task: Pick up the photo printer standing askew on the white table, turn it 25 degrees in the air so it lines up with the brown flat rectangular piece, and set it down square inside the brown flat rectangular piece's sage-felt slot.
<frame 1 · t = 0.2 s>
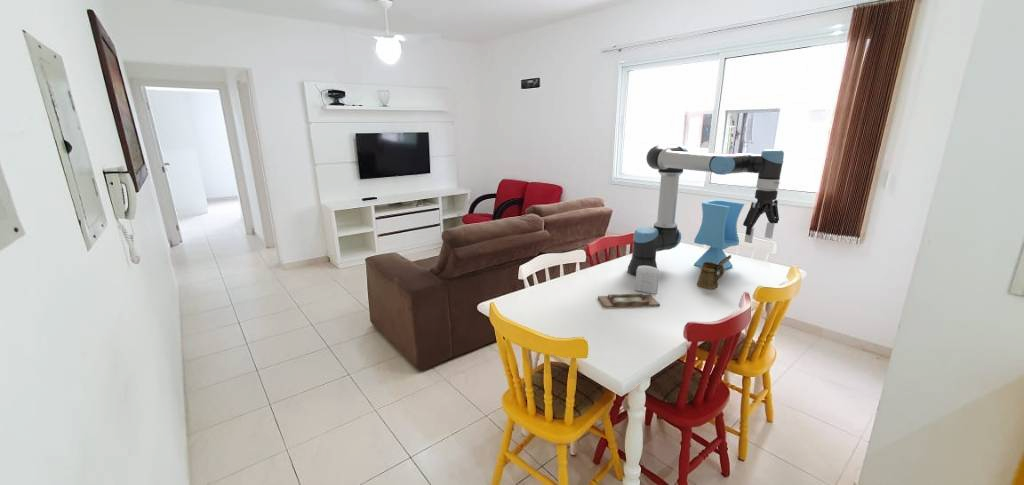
hand: (758, 240, 168), 28 cm above the table, fingers open, 13 cm apart
planter: (712, 266, 219), on the table
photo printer: (646, 291, 187), on the table
wooden mug: (711, 288, 191), on the table
brown flat rectangular piece: (627, 302, 176), on the table
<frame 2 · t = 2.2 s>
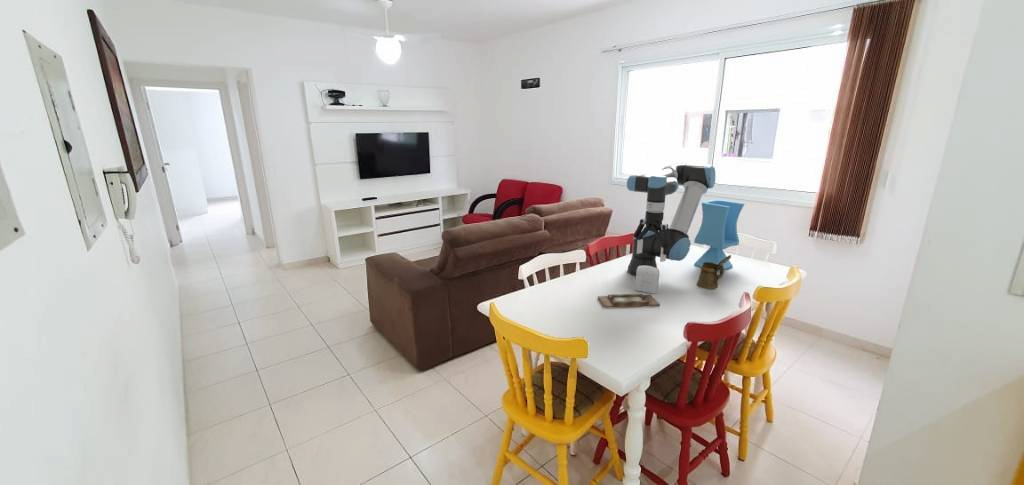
hand: (650, 257, 182), 17 cm above the table, fingers open, 13 cm apart
nothing on the table moved.
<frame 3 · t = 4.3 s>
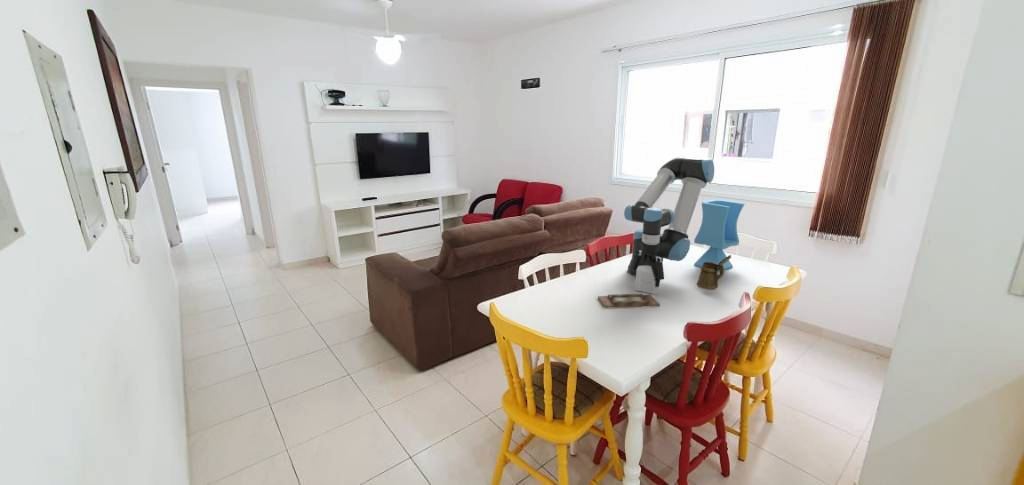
hand: (646, 288, 187), 1 cm above the table, fingers closed on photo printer, 10 cm apart
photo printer: (646, 291, 187), on the table, touching gripper
everything else where it was.
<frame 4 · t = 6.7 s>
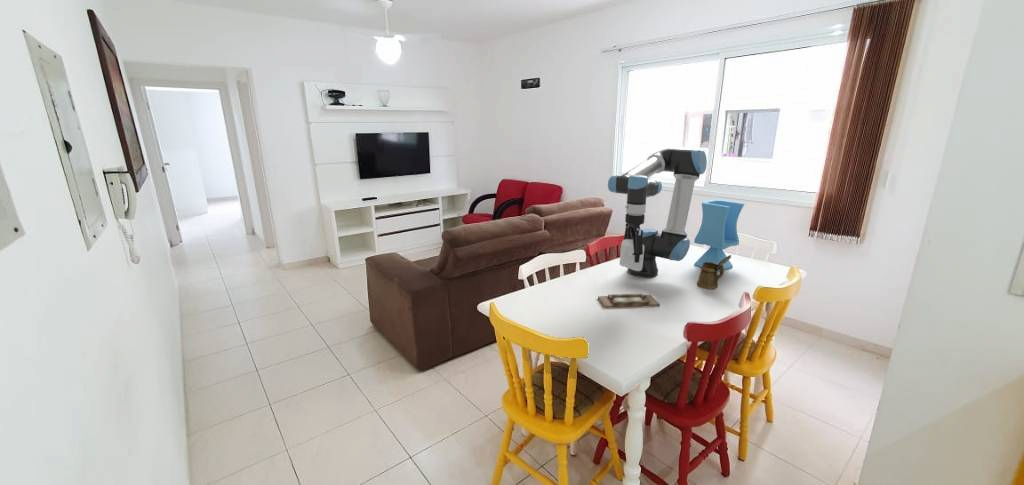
hand: (631, 265, 171), 17 cm above the table, fingers closed on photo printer, 10 cm apart
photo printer: (630, 268, 171), point 16 cm above the table, touching gripper
everything else where it was.
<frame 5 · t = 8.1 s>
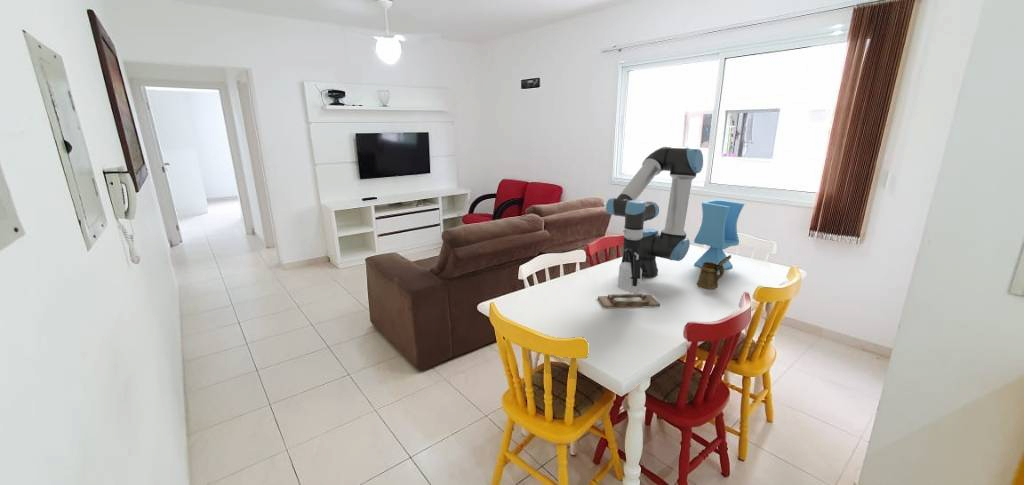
hand: (629, 287, 174), 7 cm above the table, fingers closed on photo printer, 10 cm apart
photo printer: (628, 290, 174), point 5 cm above the table, touching gripper
everything else where it was.
when the fingers open (4 cm above the table, at t = 9.3 s): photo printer stays where it is, resting on brown flat rectangular piece.
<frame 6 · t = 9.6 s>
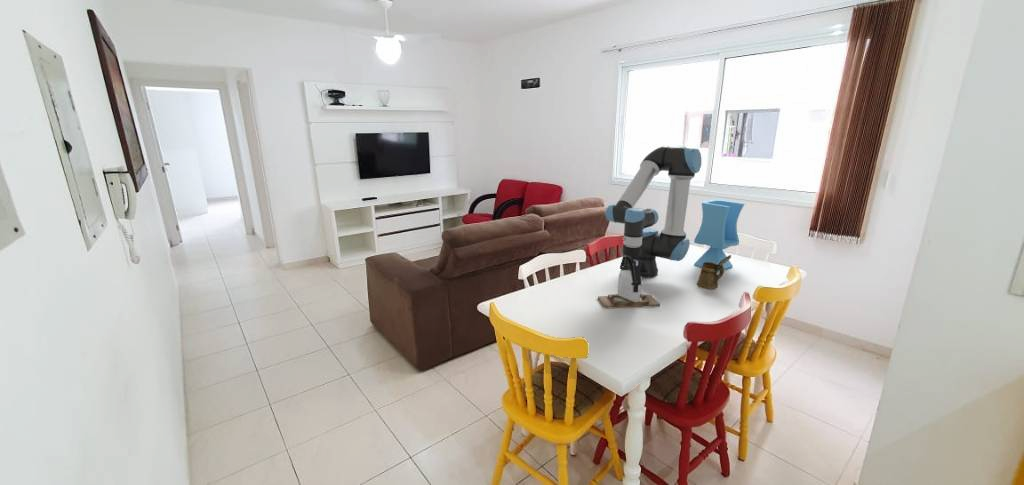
hand: (628, 292, 174), 5 cm above the table, fingers open, 13 cm apart
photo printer: (628, 298, 175), point 2 cm above the table, touching brown flat rectangular piece
everything else where it was.
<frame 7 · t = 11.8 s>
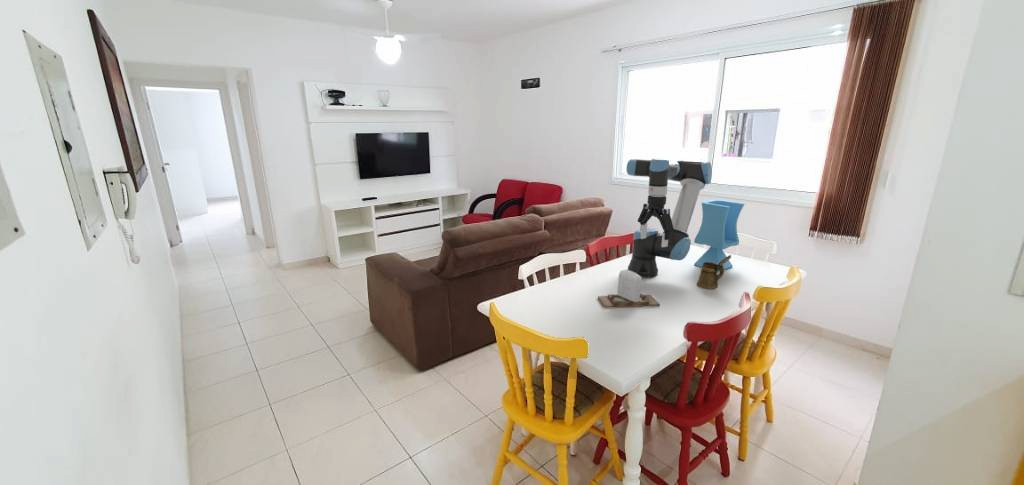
hand: (653, 242, 179), 24 cm above the table, fingers open, 13 cm apart
nothing on the table moved.
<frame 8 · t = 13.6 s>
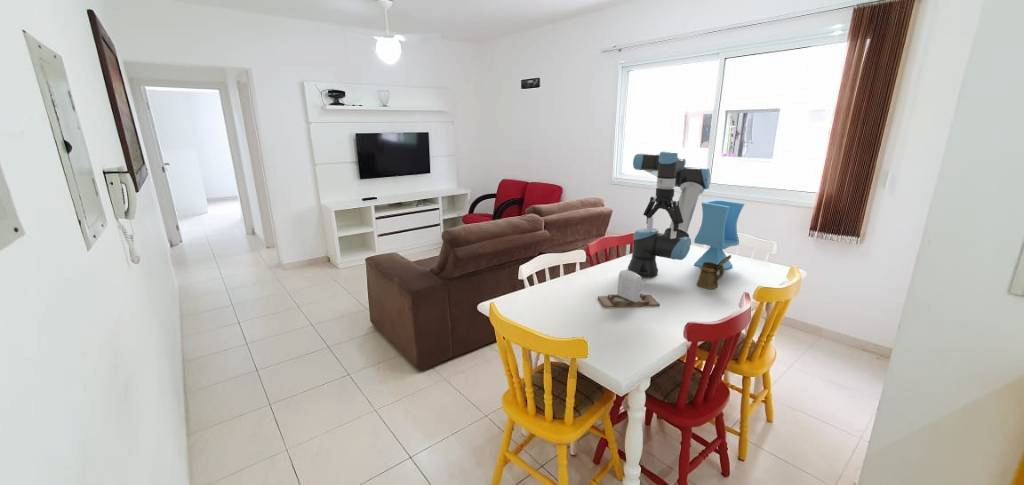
hand: (660, 234, 181), 27 cm above the table, fingers open, 13 cm apart
nothing on the table moved.
at the end: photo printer 0.1 cm off-centre on the brown flat rectangular piece, point 1.8 cm above the brown flat rectangular piece's base; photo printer tilted 0°; the gripper is holding nothing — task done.
